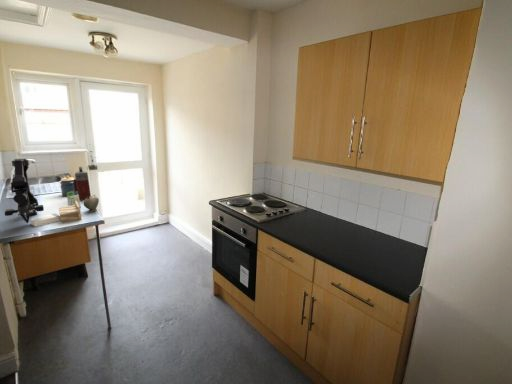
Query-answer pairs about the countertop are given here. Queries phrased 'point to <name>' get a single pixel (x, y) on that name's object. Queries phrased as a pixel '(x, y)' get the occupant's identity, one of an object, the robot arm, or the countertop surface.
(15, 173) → the robot arm
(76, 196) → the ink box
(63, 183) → the canister
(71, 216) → the wooden crate
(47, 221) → the white long block
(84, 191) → the dark red tall piece
